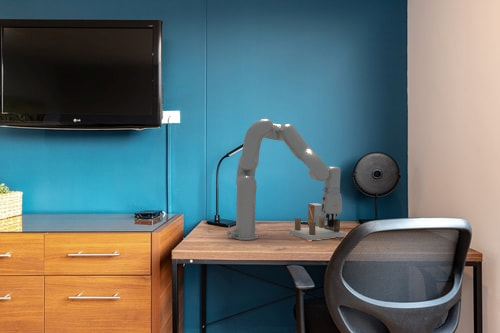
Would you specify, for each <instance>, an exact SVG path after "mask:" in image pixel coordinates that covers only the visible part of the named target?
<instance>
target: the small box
mask: <svg viewBox="0 0 500 333" xmlns="http://www.w3.org/2000/svg"><path fill="white" fill-rule="evenodd" d="M321 204H322V203H318V202H315V203H314V202H313V203H308V210H307V213H308V214H307V225H308V224H309V222H316V226H319V216H323V215H322V211H321Z"/></svg>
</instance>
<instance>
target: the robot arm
mask: <svg viewBox="0 0 500 333" xmlns="http://www.w3.org/2000/svg"><path fill="white" fill-rule="evenodd" d="M263 139H268V140H274V141H278V142H279V141H281V142H284V144H285V145H286V146H287V147H288V148H289V150H290V152H291V153H292V154H293V155H294V157H296V158H297V159H298V160H300V161H301V162H302V163H303V164H305V165H306V167H307V168H308V169H309V170H308V176H309V177H310V178H311V179H312V180H314V181H319V182H324V188H323V189H322V191H323V195H322V198H321V203H320V204H321V211H322V215H323V216H325V219H327V220H326V221H327V222H326V223H327V224H326V225H327V226H328V227H333V228H334V219H337V218H336V217H338V216H340V215H341V213H343V200H342V194H341V193H340V189H341V187H340V186H341V172H342V170H341V168H340V167H339V166H327V165H326V164H325V162H324V161H323V159H322V158H321V157H320V155H318V154H317V153H316V151H314V150H313V148H311V147H310V146H309V144H308V143H307V141H305V139H304V137H303V136H302V135H301V134H300V132H299V131H298V130H297V128H296V127H295V126H294V125H293V124H292V123H284V124H279V123H274V122H273V121H272V120H271V119H269V118H261V119H259V120H256V121H254V122H253V123H252V124H251V125H250V126H249V128H248V129H247V130H246V133H245V135H244V140H243V146H242V151H241V155H240V156H239V159H238V164H237V170H236V177H235V178H236V179H235V185H236V212H235V216H236V217H235V219H236V220H235V227H234V228H233V229H232V230H227V231H226V235H227V236H229V235H231V236H232V238H233V239H235V240H238V241H253V240H257V239H258V238H259V235H258V234H257V233H256V209H257V208H256V204H257V203H256V198H257V186H258V185H257V180H256V170H257V168H258V166H259V161H260V160H259V158H260V150H261V145H262V141H263Z"/></svg>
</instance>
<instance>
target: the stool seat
mask: <svg viewBox="0 0 500 333" xmlns="http://www.w3.org/2000/svg"><path fill="white" fill-rule="evenodd" d="M325 220H326V216H319V226H318V227H315V226H316V222H309V225H308V226H309V227H301V225H302V218H301V217H295V218H294V228H290V229H289V235H291V234H293V235H292V236H294V235H296V236H295V237H297V236H299V237H298V238H300V237H302V238H305V239H308V240H317V239H325V238H332V237H340V236H345V235H346V232H345V231H343V230H340V232H335V231H333V230H329V229H325V228H324V225H326V222H325ZM302 238H301V239H302ZM305 239H304V240H305ZM308 240H307V241H308Z"/></svg>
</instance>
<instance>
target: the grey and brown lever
mask: <svg viewBox="0 0 500 333" xmlns="http://www.w3.org/2000/svg"><path fill="white" fill-rule="evenodd" d="M324 228H325V229H329V230H333V231H335V232H340V231H341V229H340V228H341V219H339V218H338V219H337V218H335V219H334V227H328V226H327V224H325V225H324Z"/></svg>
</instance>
